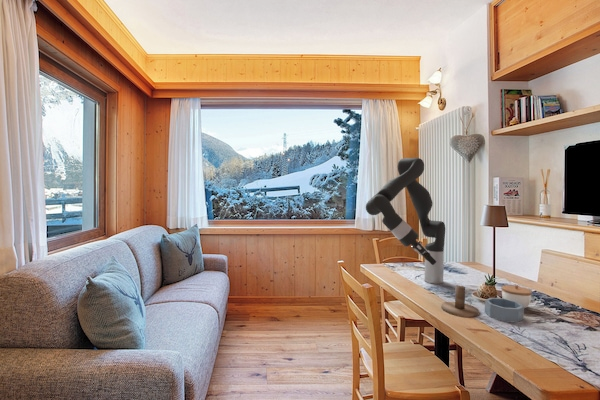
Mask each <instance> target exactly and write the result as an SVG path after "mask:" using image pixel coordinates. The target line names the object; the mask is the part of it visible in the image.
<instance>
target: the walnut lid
mask: <svg viewBox="0 0 600 400" xmlns="http://www.w3.org/2000/svg"><path fill="white" fill-rule="evenodd" d="M454 291H455V292H454V294H455V295H454V301H444V302H443V303H440V308H441V310H442V311H443V312H445V313H447V314H450V315H452V316H456V317H460V318H462V317H463V318H475V317H478V316H479V314H480V310H479V309H478V308H477V307H475V306H474V305H471V304H468V303H466V302H465V301H466V286H464V285H455V290H454Z"/></svg>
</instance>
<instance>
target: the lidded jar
mask: <svg viewBox="0 0 600 400" xmlns="http://www.w3.org/2000/svg"><path fill="white" fill-rule="evenodd" d="M532 293H533V292H532V290H531V289H529V288H527V287H523V286H520V285H518V284H515V285H512V284H511V285H510V284H509V285H506V284H505V285H502V286H501V295H502V297H501V298H504V299H508V300H512V301H515V302H518V303H519V304H521V305H522V306H524V309H525V308H527V307H528V306H529V305H530V304H531V300H532Z"/></svg>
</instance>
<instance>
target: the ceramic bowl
mask: <svg viewBox="0 0 600 400" xmlns="http://www.w3.org/2000/svg"><path fill="white" fill-rule="evenodd" d="M484 313H485V314H487V316H488V317H490V318H491V319H492V318H493V319H496V320H499V321H502V322H510V323H520V322H522V321H523V320H524V316H525V308H524V306H522V305H521V304H519V303H518V302H515V301H512V300H508V299H504V298H502V297H501V298H500V297H489V298H486V299H485V300H484ZM522 319H523V320H522ZM519 321H520V322H519Z"/></svg>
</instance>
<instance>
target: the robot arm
mask: <svg viewBox="0 0 600 400" xmlns="http://www.w3.org/2000/svg"><path fill="white" fill-rule="evenodd" d="M396 168H397V171H398V176H396V177H393V178H391V179H390V180H388V181H387V182H386V183H385V184H384V185H383V186H381V188H380V190H378V191H377V193H376V194H375V195H373V196H372V197H371V198H370V199H369V200H367V202H366V205H365V210H366V212H367V214H369V216H370V215H371V216H378V215H379V214H380V213H381V214H382V216H383V218H382V220H381V221H382V223H383V224H384V226H385V227H386V229H388V230H389V231H390V233H392V235H393V236H394V237H395V238H396V240H398V241H399V242H400V243H401V245H402V246H404V247H405V248H406V247H409V246H411V249H412V250H414V252H416V253H417V254H418V255H419V256H422V257H423V258H424V282H426V283H430V284H435V285H436V284H437V285H438V284H443V283H444V267H445V266H444V265H445V264H444V248H445V240H446V239H445V238H446V225H445V222H444V221H442V220H441V221H439V220H431V219H429V214H430V211H431V210H432V207H433V200H432V197H431V194H430V192H429V190H428V189H427V188H426V187H425V186H423V185H422V184H421V183H420V182H418V180H417V179H418V178H419V177H421V176H422V175H423V173H424V170H425V162H424V160H423V159H421V157H420V158H419V157H404V158H400V159H399V160H398V162H397V167H396ZM405 188H406V190H407V192H408V194H409V198H410V199H411V203H412V205H413V207H414V209H415V211H416V214H417V217H418V221H419V224H420V228H421V231H422V234H423V235H424V236H425V237H427V238H432V239H434V241H433V242H429V243H426V244H425V246H424V244H422V242H421V241H419V240H418V238H419V234H418V232H416V231H415V230H414V229H413V227H411V226H410V224H409V223H408V222H406V221H405V220H404V219H403V218H402V217H401V216H400V215H399V214H398V213H397V212H396V210H395V209H394V207H393V205H392V204H391V202H392V201H393V200H394V199H395V198H396V197H397V196H398V195H399V193H400V192H401V191H402V190H404V189H405ZM417 240H418V241H417Z"/></svg>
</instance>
